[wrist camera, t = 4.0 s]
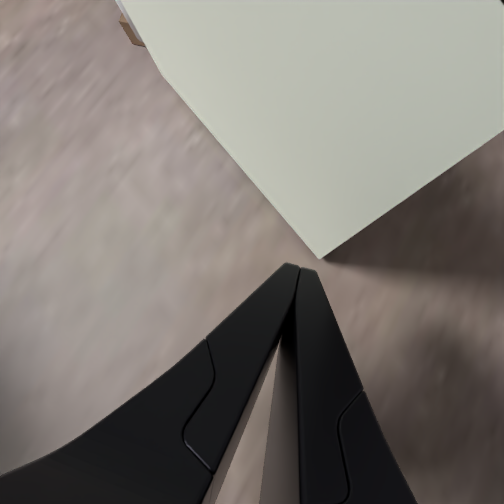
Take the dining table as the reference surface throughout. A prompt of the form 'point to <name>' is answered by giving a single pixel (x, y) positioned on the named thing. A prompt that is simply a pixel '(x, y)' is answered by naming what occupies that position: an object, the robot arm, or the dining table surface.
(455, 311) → the dining table surface
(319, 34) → the door
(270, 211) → the dining table surface
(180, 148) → the dining table surface
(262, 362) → the robot arm
